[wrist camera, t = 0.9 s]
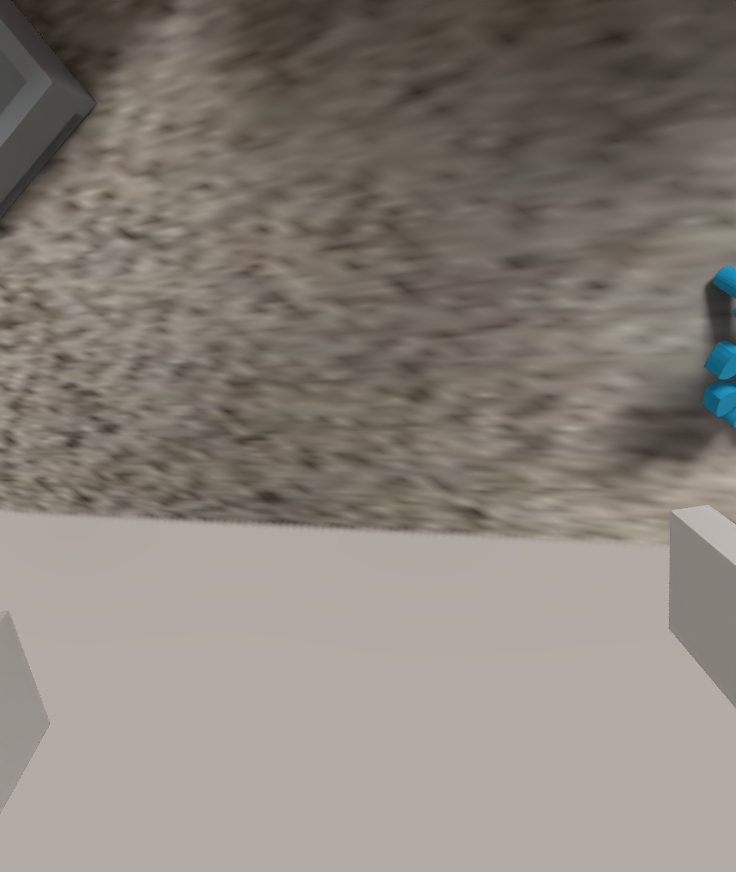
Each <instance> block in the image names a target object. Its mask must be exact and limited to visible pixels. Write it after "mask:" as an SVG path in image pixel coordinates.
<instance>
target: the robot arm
mask: <svg viewBox="0 0 736 872" xmlns="http://www.w3.org/2000/svg"><path fill="white" fill-rule="evenodd" d="M669 629H670V630H671V632H672V633H673V634H674V635H675V636H676V638H677V639H678V640H679V641H680V642H681V643H682V645H683V646H684V647H685V648H686V649H687V651H688V652H689V653H690V654H691V655H692V657H693V658H694V659H695V660H696V661H697V663H698V664H699V665H700V666H701V667H702V668H703V669H704V671H705V672H706V673H707V674H708V675H709V677H710V678H711V679H712V680H713V681H714V683H715V684H716V685H717V686H718V688H719V689H720V690H721V691H722V692H723V693H724V695H725V696H726V697H727V698H728V699H729V701H730V702H731V703H732V704H733V705H734V707H735V708H736V525H735V524H734V523H732V522H731V521H730V520H728V519H727V518H726V517H724V516H723V515H722V514H720V513H719V512H718V511H716V510H715V509H713V508H712V507H711V506H709V505H704V506H697V507H691V508H684V509H678V510H671V511H670V582H669ZM49 725H50V722H49V720H48V717H47V714H46V711H45V709H44V706H43V703H42V700H41V698H40V695H39V692H38V689H37V687H36V684H35V681H34V679H33V676H32V673H31V670H30V668H29V665H28V662H27V659H26V657H25V654H24V651H23V648H22V646H21V643H20V640H19V637H18V635H17V632H16V629H15V627H14V624H13V621H12V619H11V616H10V613H9V611H5V612H0V813H1V811H2V809H3V808H4V806H5V804H6V802H7V800H8V799H9V797H10V795H11V793H12V791H13V790H14V788H15V786H16V784H17V782H18V780H19V779H20V777H21V775H22V773H23V772H24V770H25V768H26V766H27V764H28V763H29V761H30V759H31V757H32V755H33V753H34V752H35V750H36V748H37V746H38V745H39V743H40V741H41V739H42V737H43V736H44V734H45V732H46V730H47V728H48V727H49Z"/></svg>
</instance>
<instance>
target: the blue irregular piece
mask: <svg viewBox="0 0 736 872" xmlns="http://www.w3.org/2000/svg"><path fill="white" fill-rule="evenodd" d="M713 283H714V285H715V286H717V287H718V288H720V289H721V290H723V291H724V292H726V293H728V294H729V295H731V296H732V297H734V298H736V269H734V268H733V267H731V266H726V267H724V268H722V269H721V270H720V271H719V272H718V273H717V274H716V276H715V278H714V281H713ZM734 315H735V317H736V308H735V309H734ZM704 367H705V368H706V369H708V370H709V371H710V372H712V373H713V374H714V375H716V376H717V377H718V378H719V379H722V380H725V379H728V378H730V377H732V376H734V375H736V346H735V345H734V344H732V343H731V342H729V341H722V342H720V343H718V344H717V345H716V347H715V348H714V349H713V351H712V352H711V354H710V355H709V357H708V359H707V361H706V363H705V365H704ZM703 406H704V407H705V408H707V409H708V410H709V411H710V412H711V413H713V414H714V415H715V416H716V417H720V416H721V417H722V418H723V419H724V420H725V421H727V422H728V423H729V424H730V425H731V426H733V427H734V428H735V429H736V379H735V380H734V381H731V382H724V381H717V382H714V383H712V384H711V385H709V386H708V387H707V388H706V390H705V392H704V396H703Z"/></svg>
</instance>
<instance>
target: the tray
mask: <svg viewBox="0 0 736 872" xmlns="http://www.w3.org/2000/svg"><path fill="white" fill-rule="evenodd" d="M95 105H96V102H95V101H94V100H93V99H92V98H91V96H90V95H89V94H88V93H87V91H86V90H85V89H84V88H83V87H82V85H81V84H80V83H79V82H78V81H77V79H76V78H75V77H74V76H73V75H72V73H71V72H70V71H69V70H68V68H67V67H66V66H65V65H64V64H63V62H62V61H61V60H60V59H59V58H58V56H57V55H56V54H55V53H54V52H53V50H52V49H51V48H50V47H49V45H48V44H47V43H46V42H45V41H44V39H43V38H42V37H41V36H40V35H39V33H38V32H37V31H36V30H35V29H34V27H33V26H32V25H31V24H30V22H29V21H28V20H27V19H26V18H25V16H24V15H23V14H22V13H21V12H20V10H19V9H18V8H17V7H16V6H15V4H14V3H13V2H12V1H11V0H0V218H1V217H2V215H3V214H4V213H5V212H6V211H7V210H8V208H9V207H10V206H11V205H12V204H13V202H14V201H15V200H16V199H17V198H18V196H19V195H20V194H21V193H22V192H23V190H24V189H25V188H26V187H27V186H28V185H29V183H30V182H31V181H32V180H33V179H34V177H35V176H36V175H37V174H38V173H39V171H40V170H41V169H42V168H43V167H44V165H45V164H46V163H47V162H48V161H49V159H50V158H51V157H52V156H53V155H54V154H55V152H56V151H57V150H58V149H59V148H60V146H61V145H62V144H63V143H64V142H65V140H66V139H67V138H68V137H69V136H70V134H71V133H72V132H73V131H74V130H75V128H76V127H77V126H78V125H79V124H80V123H81V121H82V120H83V119H84V118H85V117H86V115H87V114H88V113H89V112H90V111H91V109H92V108H93V107H94V106H95Z"/></svg>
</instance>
